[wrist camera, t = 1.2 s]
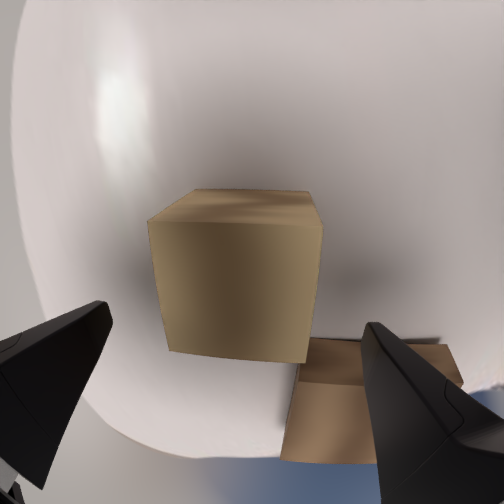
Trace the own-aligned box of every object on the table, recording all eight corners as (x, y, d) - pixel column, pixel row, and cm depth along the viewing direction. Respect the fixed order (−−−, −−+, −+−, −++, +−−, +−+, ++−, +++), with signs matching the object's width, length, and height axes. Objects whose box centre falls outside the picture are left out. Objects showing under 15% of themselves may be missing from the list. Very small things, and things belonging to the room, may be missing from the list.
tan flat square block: (446, 344, 16) (463, 382, 12) (397, 427, 20) (401, 461, 17) (302, 336, 18) (298, 381, 14) (285, 424, 22) (279, 459, 19)
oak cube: (308, 191, 14) (323, 226, 9) (300, 291, 17) (305, 363, 11) (195, 188, 15) (147, 221, 10) (202, 286, 17) (169, 350, 12)
